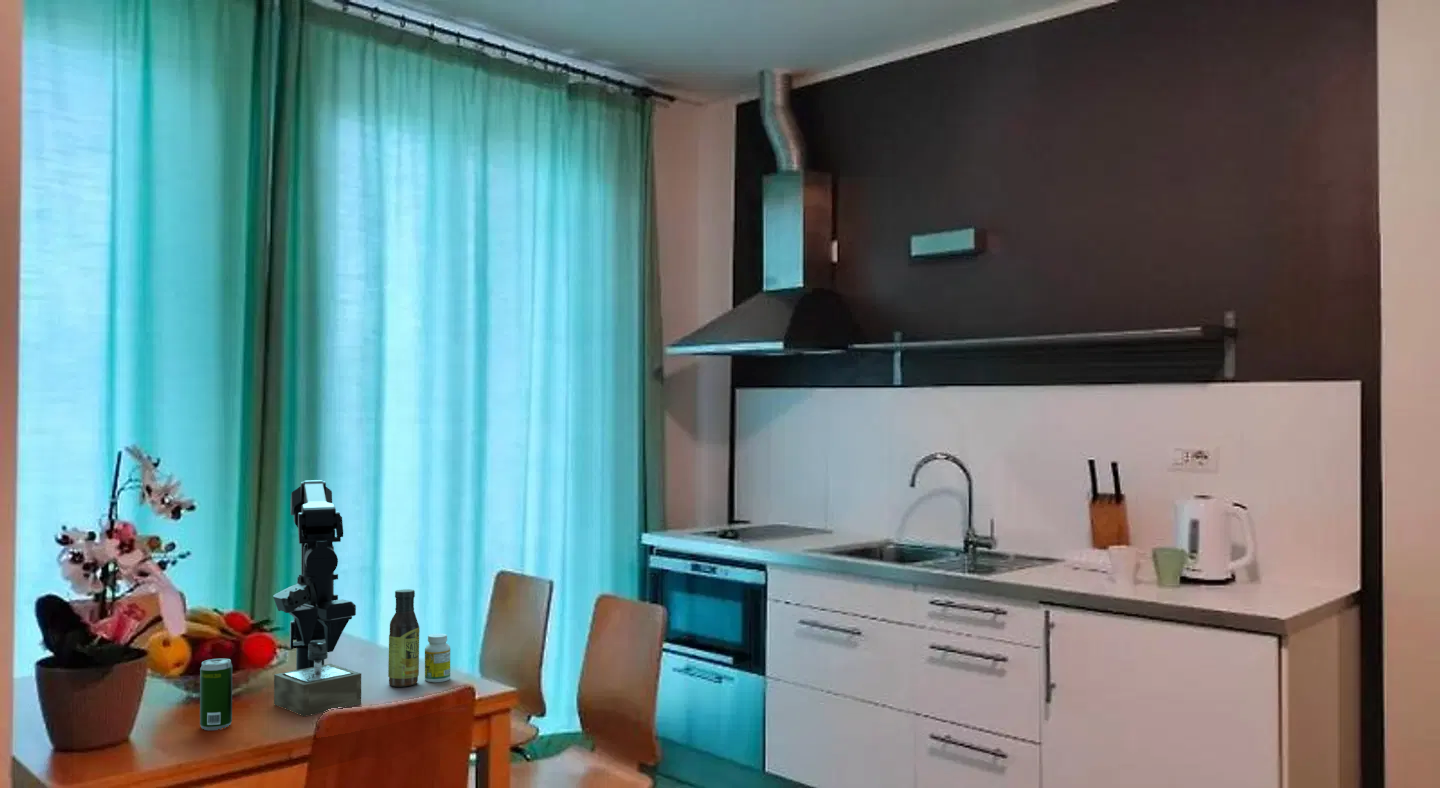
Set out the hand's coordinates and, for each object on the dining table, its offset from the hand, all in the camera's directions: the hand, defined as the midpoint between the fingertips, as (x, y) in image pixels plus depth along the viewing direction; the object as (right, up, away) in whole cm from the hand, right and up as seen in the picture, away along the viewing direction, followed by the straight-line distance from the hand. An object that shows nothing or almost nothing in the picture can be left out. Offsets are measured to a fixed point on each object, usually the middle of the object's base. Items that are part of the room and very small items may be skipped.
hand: (318, 648), depth 218 cm
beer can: (-13, -11, -15) cm, 23 cm away
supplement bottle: (+19, -12, +19) cm, 29 cm away
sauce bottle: (+13, -11, +15) cm, 23 cm away
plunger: (0, -6, 0) cm, 6 cm away
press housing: (0, -11, 0) cm, 11 cm away
